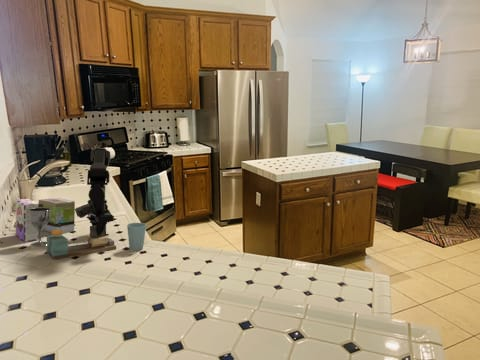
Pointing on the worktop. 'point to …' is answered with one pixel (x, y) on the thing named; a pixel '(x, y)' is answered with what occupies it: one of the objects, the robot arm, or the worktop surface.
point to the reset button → (56, 232)
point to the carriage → (96, 237)
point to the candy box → (25, 220)
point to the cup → (136, 235)
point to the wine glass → (39, 221)
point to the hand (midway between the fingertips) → (97, 234)
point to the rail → (72, 247)
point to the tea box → (59, 214)
